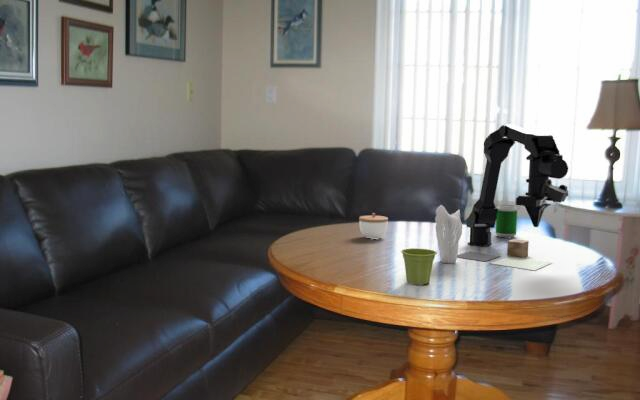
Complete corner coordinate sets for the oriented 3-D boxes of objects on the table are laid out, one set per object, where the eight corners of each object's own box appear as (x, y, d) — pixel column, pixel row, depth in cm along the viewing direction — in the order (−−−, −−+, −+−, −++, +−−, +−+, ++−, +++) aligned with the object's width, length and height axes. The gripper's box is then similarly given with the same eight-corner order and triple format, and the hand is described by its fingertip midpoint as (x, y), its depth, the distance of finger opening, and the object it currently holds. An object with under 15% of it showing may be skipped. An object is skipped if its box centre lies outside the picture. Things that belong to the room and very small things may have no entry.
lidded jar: (368, 234, 254) (369, 210, 252) (392, 237, 247) (393, 212, 246) (353, 238, 245) (353, 213, 244) (378, 241, 239) (378, 216, 238)
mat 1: (453, 256, 214) (453, 256, 214) (469, 251, 223) (469, 251, 223) (485, 261, 207) (485, 261, 207) (500, 256, 216) (500, 255, 216)
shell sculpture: (461, 260, 209) (463, 203, 207) (460, 265, 201) (463, 207, 199) (434, 258, 211) (436, 202, 209) (433, 264, 203) (435, 205, 201)
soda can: (516, 238, 249) (518, 207, 247) (496, 237, 250) (497, 206, 249) (515, 235, 256) (516, 204, 254) (495, 234, 257) (496, 203, 256)
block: (507, 255, 218) (507, 240, 217) (513, 253, 221) (514, 238, 221) (521, 258, 214) (522, 243, 214) (527, 255, 218) (528, 240, 218)
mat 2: (490, 263, 205) (490, 263, 205) (509, 256, 215) (509, 256, 215) (534, 270, 196) (534, 270, 196) (552, 263, 207) (552, 262, 207)
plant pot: (397, 278, 184) (398, 248, 183) (430, 278, 185) (431, 248, 184) (404, 287, 175) (405, 255, 174) (439, 287, 176) (440, 254, 174)
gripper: (553, 179, 187) (550, 233, 189) (576, 175, 202) (573, 226, 204) (516, 177, 195) (513, 229, 196) (540, 173, 209) (537, 222, 211)
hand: (535, 226), depth 202 cm, fingers closed
